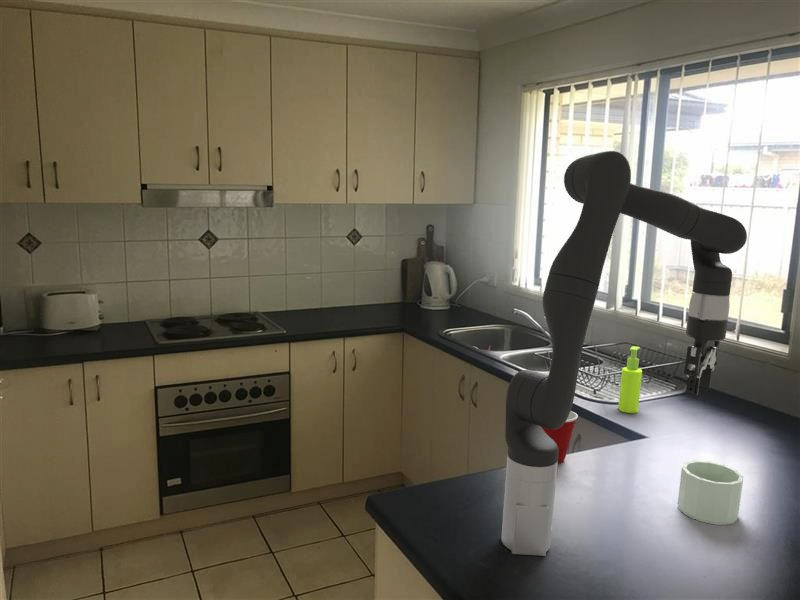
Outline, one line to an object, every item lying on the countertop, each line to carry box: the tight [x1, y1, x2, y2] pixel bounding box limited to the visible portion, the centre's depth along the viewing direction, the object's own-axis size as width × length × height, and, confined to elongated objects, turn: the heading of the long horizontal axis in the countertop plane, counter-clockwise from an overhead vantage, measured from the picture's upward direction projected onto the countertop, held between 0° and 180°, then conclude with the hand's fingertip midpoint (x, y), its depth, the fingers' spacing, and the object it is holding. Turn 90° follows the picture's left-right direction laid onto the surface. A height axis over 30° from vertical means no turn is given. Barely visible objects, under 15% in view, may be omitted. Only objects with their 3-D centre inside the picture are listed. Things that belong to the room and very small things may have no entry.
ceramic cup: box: [677, 460, 745, 526], centre depth 142 cm, size 12×12×9 cm
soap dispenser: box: [617, 345, 643, 414], centre depth 207 cm, size 6×7×20 cm
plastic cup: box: [541, 410, 579, 464], centre depth 167 cm, size 11×11×12 cm
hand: (698, 391), depth 140 cm, fingers open, 8 cm apart
